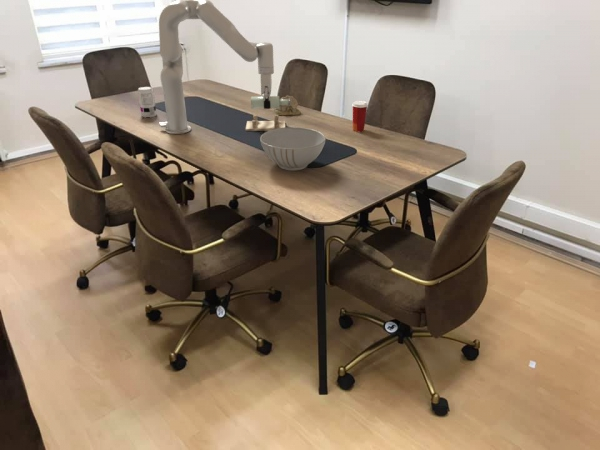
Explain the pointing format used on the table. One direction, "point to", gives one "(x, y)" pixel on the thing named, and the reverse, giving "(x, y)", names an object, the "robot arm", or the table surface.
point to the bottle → (274, 102)
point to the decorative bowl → (292, 146)
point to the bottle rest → (264, 124)
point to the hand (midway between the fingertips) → (267, 106)
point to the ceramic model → (288, 107)
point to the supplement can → (147, 102)
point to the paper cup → (359, 115)
